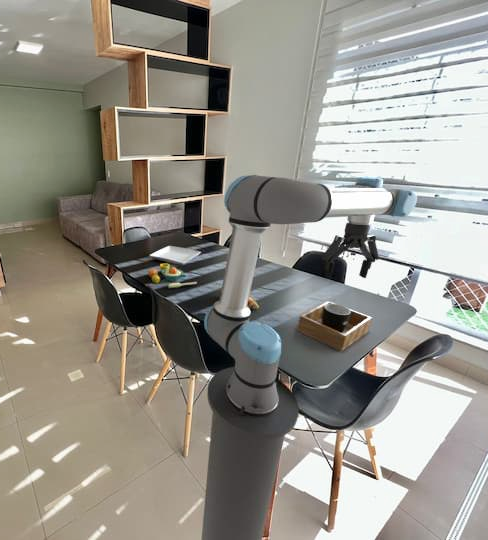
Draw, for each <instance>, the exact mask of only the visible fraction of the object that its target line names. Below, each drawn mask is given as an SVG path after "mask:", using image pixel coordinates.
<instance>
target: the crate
mask: <svg viewBox="0 0 488 540" xmlns="http://www.w3.org/2000/svg"><path fill="white" fill-rule="evenodd" d="M326 304H336V303H334V302H332V301H329V300H327V301H325V302H324V303H321V304H320V305H318V306H316V307H314V308H312V309H311V310H309V311H307V312H304V313H303V314H301V315H299V320H298V325H297V329H296V330H297V331H298V332H299V333H302V334H304V335H306V336H309V337H310V338H312V339H314V340H316V341H319V342H321V343H322V344H324V345H326V346H329V347H331V348H332V349H335V350H337V351H339V352H343V351H344V350H346V349H347V348H348V347H350V346H351V345H352V344H354V343H355V342H356V341H358V340H359V339H360V338H362V337H363V336H364V335H366V334H367V333H369V329H370V327H371V323H372V320H373V317H372V316H370V315H367V314H365V313H361V312H358V311H356V310H353V309H351V308H348V309H349V310H350V311H351V314H350V317H349V320H348V322H347V325H346V327H345V329H344V331H343V332H342V333H341V332H339V331H336V330H334V329H332V328H329V327H327V326H325V325H323V324H322V315H323V309H324V306H325V305H326Z"/></svg>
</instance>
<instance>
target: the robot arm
mask: <svg viewBox="0 0 488 540" xmlns="http://www.w3.org/2000/svg"><path fill="white" fill-rule="evenodd" d="M383 183H384V179H383V178H381V177H375V176H374V177H373V176H372V177H370V176H369V177H368V176H367V177H366V176H364V177H363V176H361V177H358V178H357V179H356V182H355V184H346V185H345V184H341V185H337V186H334V187H328V186H327V185H325V184H323V183H314V182H313V183H312V182H308V181H301V180H298V179H292V178H289V177H280V176H279V177H277V176H266V175H258V174H250V175H242V176H238V177H237V178H236V179H234V180H233V181H232V182H231V183H230V184H229V185H228V187H227V188H226V191H225V194H224V199H223V202H224V207H225V209H226V211H227V212H228V213H229V215H228V223H229V225H230V227H231V228H232V229H231V230H232V231H231V235H230V241H229V247H228V252H227V258H226V263H225V269H224V273H223V280H222V285H221V289H220V291H221V296H220V295H219V300H217V301H215V302H214V303H213V305H212V306H211V307H210V308H209V310H208V311H207V312H206V313H205V315H204V321H203V326H204V330H205V331H206V333H207V334H208V335H209V337H210V338H211V339H212V340H213V342H216V343H217V345H219V346H220V347H221V348H222V349H223V350H224V351H225V352H226V353H228V354H229V355H230V356H231V357H232V358H233V359H234V367H235V370H234V372H233V374H232V376H231V377H230V379H229V381H228V383H227V386H226V395H227V398H228V400H229V402H230V403H231V404H232V405H233V406H234V407H235V408H236V409H238V410H239V411H240V413H239V414H240V415H243V413H245V414H248V415H251V416H267V415H270V414H271V413H273V412H274V411H275V410H276V408H277V405H278V393H277V389H276V384H275V379H276V378H277V374H278V368H279V364H280V359H281V356H282V339H281V336H280V335H279V333H278V332H277V331H275V329H273V328H272V327H270V326H269V325H267V324H265V323H262V324H261V322H258V321H250V319H251V318H250V317H251V313H252V312H251V308H248V306H247V304H248V299H249V296H250V294H251V290H252V285H253V280H254V275H255V271H256V265H257V261H258V256H259V254H260V253H259V252H260V247H261V243H262V238H263V234H264V232H265V231H267V230H268V229H270V227H271V225H297V224H307V223H308V224H311V223H318V222H321V221H323V220H324V219H327V218H344V217H347V222H346V223H345V227H344V235H343V236H341V235H338V234H336V235H335V236H334V238H333V240H332V242H331V243H330V245H329V246H328V248H327V249H326V250H325V252H324V253H323V255H322V256H321V259H322V260H323V261H325V265H324V269H325V273H324V277H325V278H327V279H328V280H331V279H332V275H333V271H334V267H335V262H334V261H335V260H337V258H339V257H340V256H341V255H342V254H343V253H344V252H345V251H347V250H349V249H359V250H360V252H361V254H362V255H363V257H364V258H365V259H363V260H362V263H361V267H360V271H359V274H358V276H359V277H361V278H363V279H367V276H368V272H369V270H370V269H371V267H372V264H373V263H376V261H379V259H380V256H379V252H378V248H377V243H376V241H377V236H376V235H373V234H371V233H370V232H371V229H372V223H374V219H375V216H390V217H400V218H405V217H407V216H408V215H410V214H412V213H413V210H414V209H415V207H416V205H417V202H418V195H417V193H416V192H415V191H414V190H410V189H404V188H389V187H383V185H384V184H383ZM366 242H367V245H366ZM367 246H368V247H367ZM276 383H277V382H276Z"/></svg>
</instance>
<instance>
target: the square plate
mask: <svg viewBox="0 0 488 540" xmlns="http://www.w3.org/2000/svg"><path fill="white" fill-rule="evenodd" d="M201 253H202V252H201V251H199V250H195V249H190V248H185V247H179V246H174V245H167V246H165V247H162V248H161V249H159V250H157V251H155V252H152V253H151V254H149V257H150V258H152V259H154V260H158V261H161V262H165V263H168V264H172V265H173V264H174V265H179V266H181V265H182V266H183V265H185V264H187V262H189V261H191V260H192V259H194V258H196V257H197V256H199V255H200V254H201Z"/></svg>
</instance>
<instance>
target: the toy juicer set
mask: <svg viewBox="0 0 488 540" xmlns="http://www.w3.org/2000/svg"><path fill="white" fill-rule="evenodd" d="M170 266H171V265H170V263H167V262H165V263H160V264H159V269H160V273H161V274H162V275H163V277H164V278H165V279H166V280H167V281H168V282H171V283H168V284H167V287H168V289H177V288H180V287H183V286H188V285H189V286H190V285H197V284H198V283H197V282H198V281H192V282H185V283H181V282H178V280H180V279H181V278H186V277H187V273H186V272H184V271H183V270H181V269H180V268H179V269H178V268H176V267H175V266H172V267H170ZM148 277H149V278H151V281H152V283H154V284H158V283H159V282H160V281H161V277H160V276H159V273H158V271H157V270H156V266H154V267H153V268H152V269H151V270H150V271H149V272H148Z"/></svg>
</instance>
